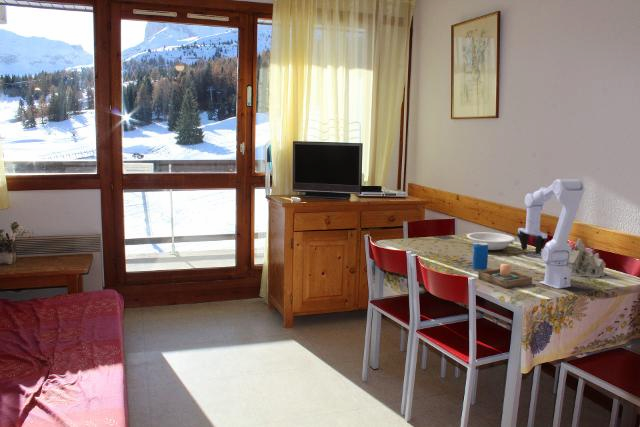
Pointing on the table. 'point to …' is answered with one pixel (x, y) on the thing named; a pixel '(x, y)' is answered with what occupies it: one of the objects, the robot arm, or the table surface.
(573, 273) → the ceramic cottage
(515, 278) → the walled tray
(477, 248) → the beverage can
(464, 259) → the table surface
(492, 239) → the soup bowl
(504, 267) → the terracotta peg
